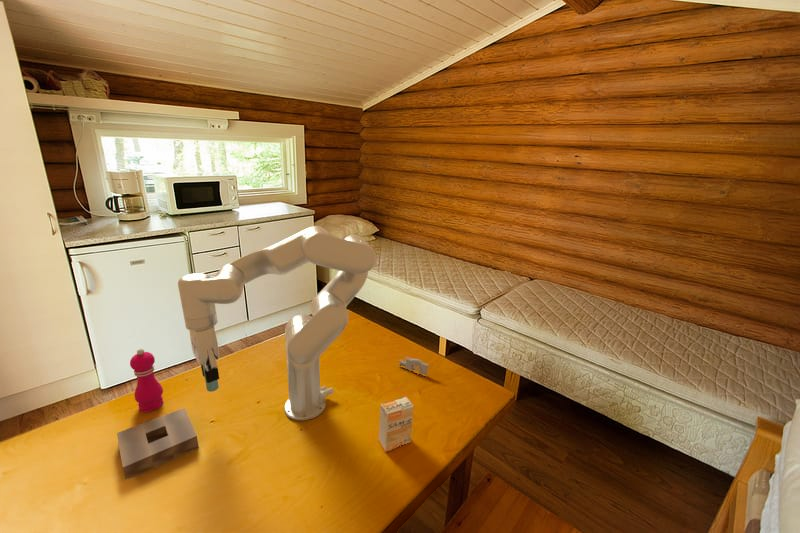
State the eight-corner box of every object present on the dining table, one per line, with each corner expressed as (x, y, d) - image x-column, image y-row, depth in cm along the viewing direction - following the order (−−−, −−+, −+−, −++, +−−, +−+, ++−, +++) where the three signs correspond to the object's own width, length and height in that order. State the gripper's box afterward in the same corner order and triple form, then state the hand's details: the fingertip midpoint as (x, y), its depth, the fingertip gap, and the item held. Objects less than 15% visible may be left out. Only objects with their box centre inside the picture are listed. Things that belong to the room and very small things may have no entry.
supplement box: (385, 453, 98) (387, 414, 94) (378, 441, 102) (379, 403, 98) (411, 443, 102) (414, 405, 98) (403, 432, 106) (405, 395, 102)
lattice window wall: (398, 367, 137) (399, 354, 135) (400, 365, 139) (401, 352, 137) (426, 378, 132) (427, 364, 130) (428, 375, 133) (429, 362, 131)
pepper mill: (151, 415, 107) (139, 357, 101) (131, 411, 109) (118, 353, 102) (170, 399, 114) (160, 344, 108) (151, 396, 115) (140, 341, 109)
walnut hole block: (186, 418, 107) (184, 407, 105) (198, 447, 97) (196, 435, 96) (119, 444, 96) (116, 433, 95) (125, 480, 87) (122, 467, 85)
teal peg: (216, 383, 104) (211, 350, 101) (220, 388, 102) (214, 355, 98) (205, 387, 102) (199, 354, 99) (208, 393, 100) (202, 359, 97)
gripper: (178, 312, 99) (189, 369, 104) (193, 335, 87) (204, 398, 93) (208, 305, 103) (216, 360, 109) (225, 326, 92) (234, 386, 98)
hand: (211, 377), depth 101 cm, fingers closed on teal peg, 3 cm apart
